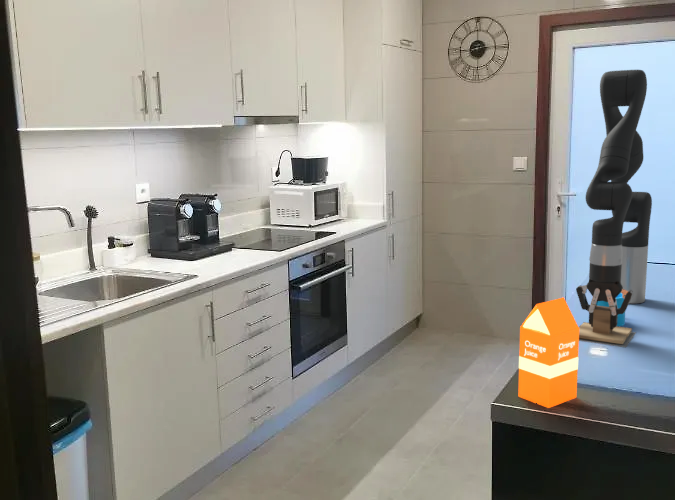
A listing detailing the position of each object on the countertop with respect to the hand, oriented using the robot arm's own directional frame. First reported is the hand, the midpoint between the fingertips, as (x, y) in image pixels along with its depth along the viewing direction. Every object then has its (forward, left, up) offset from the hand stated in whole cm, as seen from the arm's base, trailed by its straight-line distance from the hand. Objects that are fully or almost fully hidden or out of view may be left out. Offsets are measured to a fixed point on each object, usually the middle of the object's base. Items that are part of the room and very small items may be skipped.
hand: (602, 327), depth 178 cm
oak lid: (0, 0, -2) cm, 2 cm away
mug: (-15, -1, -3) cm, 15 cm away
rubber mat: (0, 0, -3) cm, 3 cm away
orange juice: (+46, -1, -3) cm, 46 cm away
